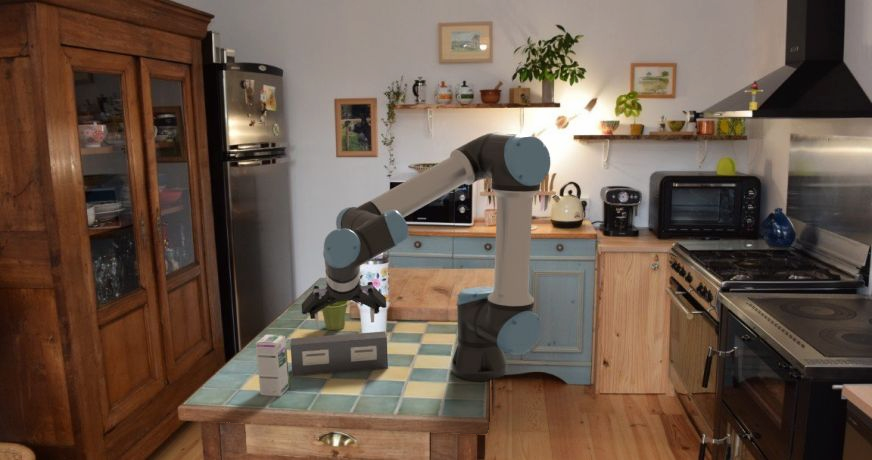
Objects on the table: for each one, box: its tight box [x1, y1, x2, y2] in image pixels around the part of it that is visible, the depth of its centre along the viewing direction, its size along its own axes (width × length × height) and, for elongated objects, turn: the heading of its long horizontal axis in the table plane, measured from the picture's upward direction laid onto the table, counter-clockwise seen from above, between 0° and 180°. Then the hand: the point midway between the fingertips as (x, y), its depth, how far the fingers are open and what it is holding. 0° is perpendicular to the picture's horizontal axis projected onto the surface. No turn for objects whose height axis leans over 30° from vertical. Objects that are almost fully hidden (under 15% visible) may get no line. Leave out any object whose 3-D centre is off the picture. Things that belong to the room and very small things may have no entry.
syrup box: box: [255, 334, 291, 397], centre depth 174 cm, size 6×6×14 cm
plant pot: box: [321, 301, 349, 331], centre depth 222 cm, size 9×9×9 cm
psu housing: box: [290, 331, 389, 377], centre depth 188 cm, size 26×6×9 cm, turn 99°
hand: (345, 319), depth 171 cm, fingers open, 13 cm apart
